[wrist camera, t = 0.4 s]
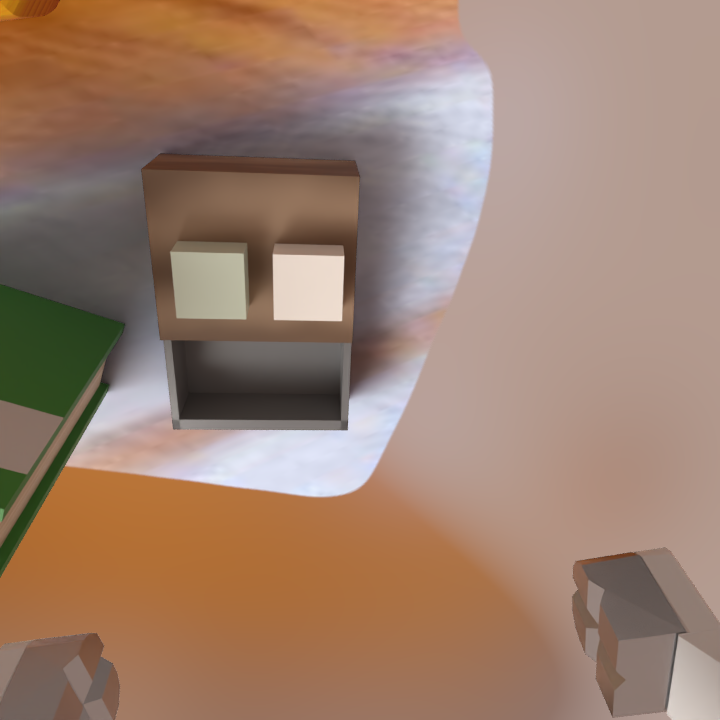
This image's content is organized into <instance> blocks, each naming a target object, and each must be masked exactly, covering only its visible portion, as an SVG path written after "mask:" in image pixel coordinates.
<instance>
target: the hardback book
mask: <svg viewBox="0 0 720 720" xmlns="http://www.w3.org/2000/svg"><path fill="white" fill-rule="evenodd" d="M124 326H125V324H123V323H120V322H117V321H114V320H111V319H108V318H105V317H102V316H98V315H95V314H92V313H89V312H86V311H83V310H80V309H76V308H73V307H70V306H67V305H64V304H61V303H58V302H54V301H51V300H48V299H45V298H42V297H39V296H36V295H32V294H29V293H26V292H23V291H20V290H17V289H14V288H11V287H7V286H4V285H1V284H0V577H1V575H2V574H3V572H4V570H5V568H6V567H7V565H8V563H9V561H10V560H11V558H12V556H13V555H14V553H15V551H16V549H17V548H18V546H19V544H20V542H21V541H22V539H23V537H24V536H25V534H26V532H27V530H28V529H29V527H30V525H31V523H32V522H33V520H34V518H35V517H36V515H37V513H38V511H39V509H40V508H41V506H42V504H43V503H44V501H45V499H46V497H47V495H48V494H49V492H50V490H51V489H52V487H53V485H54V483H55V481H56V480H57V478H58V477H59V475H60V473H61V471H62V470H63V468H64V466H65V465H66V463H67V461H68V459H69V458H70V456H71V454H72V452H73V451H74V449H75V447H76V445H77V444H78V442H79V440H80V439H81V437H82V435H83V433H84V432H85V430H86V428H87V426H88V425H89V423H90V421H91V419H92V418H93V416H94V414H95V413H96V411H97V409H98V407H99V406H100V404H101V402H102V400H103V399H104V397H105V395H106V393H107V390H108V387H109V385H108V384H105V383H102V382H100V381H101V377H102V373H103V369H104V365H105V361H106V358H107V357H108V355H109V353H110V352H111V350H112V349H113V347H114V346H115V344H116V342H117V341H118V339H119V338H120V336H121V335H122V333H123V329H124Z"/></svg>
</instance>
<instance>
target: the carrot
mask: <svg viewBox="0 0 720 720" xmlns="http://www.w3.org/2000/svg"><path fill="white" fill-rule="evenodd" d="M59 1H60V0H0V21H7V20H15V19H23V18H30V17H38V16H45V15H46V14H48V13H50V12H51V11H53V10H54V9H55V8H56V7H57V5H58V3H59Z"/></svg>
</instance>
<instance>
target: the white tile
mask: <svg viewBox="0 0 720 720" xmlns="http://www.w3.org/2000/svg"><path fill="white" fill-rule="evenodd" d="M343 280H344V249H343V245H310V244H275V245H274V250H273V300H274V320H300V321H342V308H343Z"/></svg>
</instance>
